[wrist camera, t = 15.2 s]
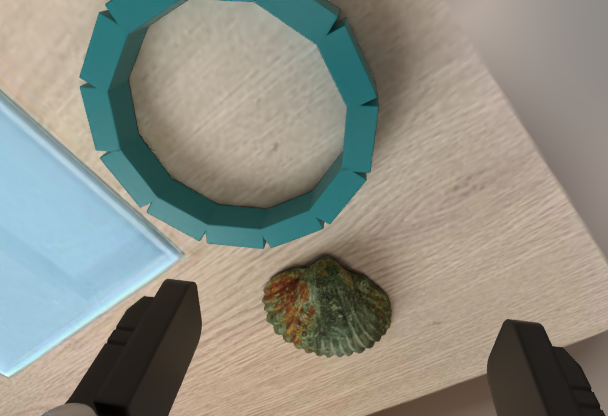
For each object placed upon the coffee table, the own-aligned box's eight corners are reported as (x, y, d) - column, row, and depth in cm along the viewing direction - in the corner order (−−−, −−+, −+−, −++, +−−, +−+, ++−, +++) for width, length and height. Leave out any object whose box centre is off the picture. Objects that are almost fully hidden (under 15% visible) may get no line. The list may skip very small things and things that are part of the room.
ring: (162, -118, 19) (139, -125, 17) (434, 77, 23) (442, 90, 21) (75, 146, 27) (53, 162, 25) (285, 262, 31) (279, 285, 29)
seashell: (252, 384, 32) (257, 285, 26) (259, 340, 35) (265, 245, 30) (384, 396, 32) (416, 300, 27) (378, 351, 35) (405, 259, 30)
